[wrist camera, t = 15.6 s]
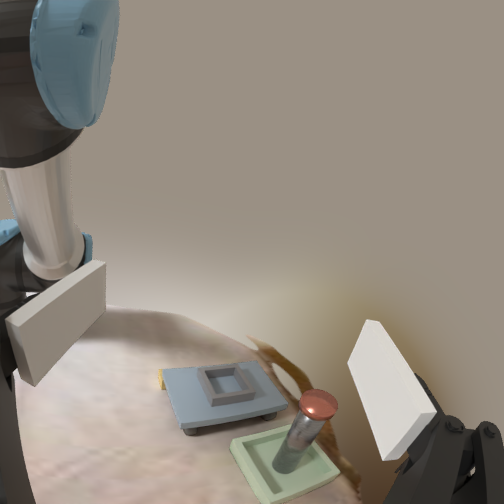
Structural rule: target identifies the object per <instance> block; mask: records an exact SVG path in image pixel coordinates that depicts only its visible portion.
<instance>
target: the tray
mask: <svg viewBox="0 0 504 504" xmlns="http://www.w3.org/2000/svg"><path fill="white" fill-rule="evenodd" d="M292 424H293V423H292ZM292 424H289V425H286V426H282V427H279V428H275V429H272V430H268V431H264V432H260V433H256V434H252V435H248V436H244V437H239V438H234V439H232V442H231V445H230V448H229V450H230V451H231V453H232V455H233V457H234V459H235V461H236V462H237V464H238V466H239V468H240V469H241V471H242V473H243V475H244V476H245V478H246V480H247V482H248V483H249V485H250V487H251V488H252V490H253V492H254V493H255V495H256V497H257V498H258V500H259V501H260V503H261V504H282V503H284V502H287V501H290V500H292V499H294V498H297V497H299V496H302V495H304V494H306V493H308V492H311V491H313V490H315V489H317V488H319V487H321V486H323V485H325V484H328V483H330V482H332V481H333V480H334V479H335V478H336V477H337V476H338V474H339V473H340V471H339V469H338V468H337V467H336V466H335V465H334V464H333V462H332V461H331V460H330V459H329V458H328V456H327V455H326V454H325V453H324V452H323V450H322V449H321V448H320V447H319V446H318V444H317V443H316V442H315V441H313V442H312V444H311V446H310V447H309V449H308V450H307V452H306V453H305V455H304V456H303V458H302V459H301V461H300V462H299V463H298V465H297V466H296V468H295V469H294V471H293V472H291V473H289V474H280V473H278V472H276V471H275V470H274V469H273V467H272V461H273V459H274V457H275V455H276V454H277V452H278V450H279V448H280V446H281V445H282V443H283V441H284V439H285V437H286V435H287V433H288V431H289V430H290V428H291V426H292Z"/></svg>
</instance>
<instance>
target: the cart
mask: <svg viewBox="0 0 504 504" xmlns="http://www.w3.org/2000/svg"><path fill="white" fill-rule="evenodd" d="M158 379H159V383H160V386H161V389H162V390H164V389H167V392H168V395H169V398H170V401H171V404H172V407H173V410H174V413H175V416H176V418H177V421H178V424H179V427H180V429H183V430H184V433H185V434H186V435H192V434H196V433H197V427H201V426H208V425H214V424H220V423H226V422H231V421H237V420H242V419H246V418H251V417H256V416H260V415H261V417H262V418H263V419H264V420H269V419H273V418H275V417H276V414H277V411H281V410H284V409H286V408H287V406H288V402H287V401H286V399H285V398H284V397H283V396H282V394H281V393H280V392H279V390H278V389H277V388H276V386H275V385H274V384H273V382H272V381H271V380H270V378H269V377H268V376H267V374H266V373H265V372H264V370H263V369H262V368H261V366H260V365H259V363H258V362H257V361H249V362H241V363H233V364H223V365H213V366H202V367H189V368H173V369H159V373H158Z"/></svg>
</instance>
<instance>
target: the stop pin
mask: <svg viewBox="0 0 504 504" xmlns="http://www.w3.org/2000/svg"><path fill="white" fill-rule="evenodd" d="M299 409H300V410H299V412H298V414H297V416H296V418H295V420H294V422H293V424H292V426H291V428H290V430H289V431H288V433H287V435H286V437H285V439H284V441H283V443H282V445H281V446H280V448H279V450H278V452H277V454H276V455H275V457H274V459H273V461H272V467H273V469H274V470H275V471H276V472H278V473H280V474H289V473H291V472H293V471H294V469H295V468H296V466H297V465H298V463H299V462H300V461H301V459H302V458H303V456H304V455H305V453H306V452H307V450H308V449H309V447H310V446H311V444H312V442H313V441H314V439H315V438H316V436H317V435H318V433H319V431H320V430H321V428H322V426H323V425H324V423H325V421H327V420H329V419H331V418H332V417H333V416H334V414H335V412H336V410H337V409H338V403H337V401H336V399H335V398H334V397H333V396H332V395H331V394H329V393H328V392H325V391H323V390H319V389H311V390H307V391H305V392H304V393H303V394H302V396H301V398H300V400H299Z"/></svg>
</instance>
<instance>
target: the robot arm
mask: <svg viewBox="0 0 504 504" xmlns="http://www.w3.org/2000/svg"><path fill="white" fill-rule="evenodd" d="M118 27H119V1H118V0H0V175H1V179H2V182H3V185H4V188H5V191H6V194H7V197H8V200H9V203H10V206H11V208H12V211H13V214H14V216H15V219H16V220H15V219H9V220H8V219H7V220H0V504H36V502H35V499H34V496H33V493H32V489H31V486H30V482H29V478H28V474H27V470H26V465H25V461H24V456H23V451H22V446H21V440H20V433H19V426H18V418H17V409H16V398H15V380H14V376H13V373H12V372H13V371H14V370H15V369H16V368H18V371H19V374H20V377H21V379H22V380H24V381H25V382H27V383H29V384H31V385H32V386H34V387H35V386H36V385H37V384H38V383H39V382H40V380H41V379H42V378H43V377H44V376H45V375H46V374H47V373H48V371H49V370H50V369H51V368H52V367H53V366H54V365H55V364H56V362H57V361H58V360H59V359H60V358H61V357H62V356H63V355H64V354H65V353H66V351H67V350H68V349H69V348H70V347H71V346H72V345H73V344H74V343H75V342H76V341H77V340H78V339H79V338H80V337H81V335H82V334H83V333H84V332H85V331H86V330H87V329H88V328H89V327H90V326H91V325H92V324H93V323H94V322H95V321H96V320H97V319H98V318H99V317H100V316H101V315H102V314H103V313H104V312H105V311H106V303H105V292H106V291H105V290H106V288H105V287H106V262H102V261H99V260H95V259H93V260H92V244H93V243H92V237H91V235H89V234H85V233H84V232H81V231H80V229H79V228H78V226H77V225H76V224H75V223H74V221H73V210H72V191H71V146H72V145H73V144H74V143H75V142H76V141H77V140H78V138H79V137H80V135H81V134H82V132H83V130H84V128H85V126H86V127H89V126H91V125H93V124H95V123H96V122H97V120H98V119H99V117H100V115H101V112H102V110H103V106H104V103H105V99H106V95H107V91H108V86H109V81H110V74H111V66H112V64H113V60H114V54H115V49H116V42H117V35H118ZM26 292H36V293H37V294H34V295H31V296H29V297H27V296H26ZM347 364H348V366H349V369H350V372H351V374H352V376H353V379H354V382H355V385H356V387H357V390H358V393H359V395H360V398H361V401H362V403H363V406H364V409H365V411H366V415H367V417H368V420H369V423H370V425H371V429H372V431H373V434H374V437H375V440H376V443H377V446H378V449H379V452H380V455H381V458H382V461H385V460H395V459H399V458H400V457H401V456H402V454H403V453H404V452H405V451H406V450H407V451H408V454H409V457H408V458H407V459H406V460H405V461H404V462H403V463H402V464H401V465H400V467H399V468H398V469H397V470H396V471H395V473H397V472H398V471H399V470H400V472H399V474H398V476H397V478H396V480H395V482H394V484H393V486H392V488H391V490H390V491H389V493H388V495H387V497H386V499H385V500H384V502H383V504H504V446H503V442H502V438H501V433H500V431H499V429H498V428H497V426H496V425H494V424H493V423H491V422H488V421H483V422H481V423H480V425H479V426H478V427H477V428H476V430H472V429H466V428H465V426H464V424H463V423H462V422H461V421H460V420H459V419H458V418H456V417H453V416H450V415H447V416H446V415H445V414H444V412H443V411H442V409H441V407H440V406H439V404H438V402H437V401H436V399H435V398H434V396H432V393H431V391H430V390H428V387H427V385H426V383H425V382H424V380H422V379H421V378H420V377H419V376H418V375H417V374H416V373H413V372H412V370H411V369H410V367H409V365H408V364H407V362H406V361H405V359H404V358H403V356H402V355H401V353H400V352H399V350H398V349H397V347H396V346H395V344H394V343H393V341H392V340H391V338H390V337H389V335H388V334H387V332H386V331H385V330H384V328H383V326H382V325H381V323H380V322H379V321H373V320H366V322H365V324H364V326H363V329H362V331H361V333H360V336H359V338H358V340H357V343H356V345H355V347H354V349H353V351H352V354H351V356H350V358H349V360H348V362H347ZM474 467H475V473H474V474H473V475H472V476H471V474H470V471H471V470H472V469H473V468H474Z"/></svg>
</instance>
